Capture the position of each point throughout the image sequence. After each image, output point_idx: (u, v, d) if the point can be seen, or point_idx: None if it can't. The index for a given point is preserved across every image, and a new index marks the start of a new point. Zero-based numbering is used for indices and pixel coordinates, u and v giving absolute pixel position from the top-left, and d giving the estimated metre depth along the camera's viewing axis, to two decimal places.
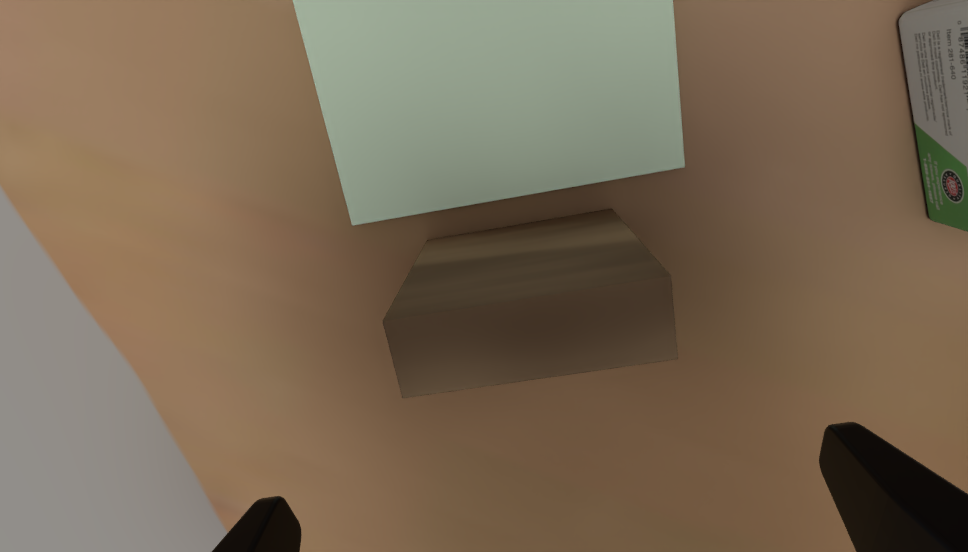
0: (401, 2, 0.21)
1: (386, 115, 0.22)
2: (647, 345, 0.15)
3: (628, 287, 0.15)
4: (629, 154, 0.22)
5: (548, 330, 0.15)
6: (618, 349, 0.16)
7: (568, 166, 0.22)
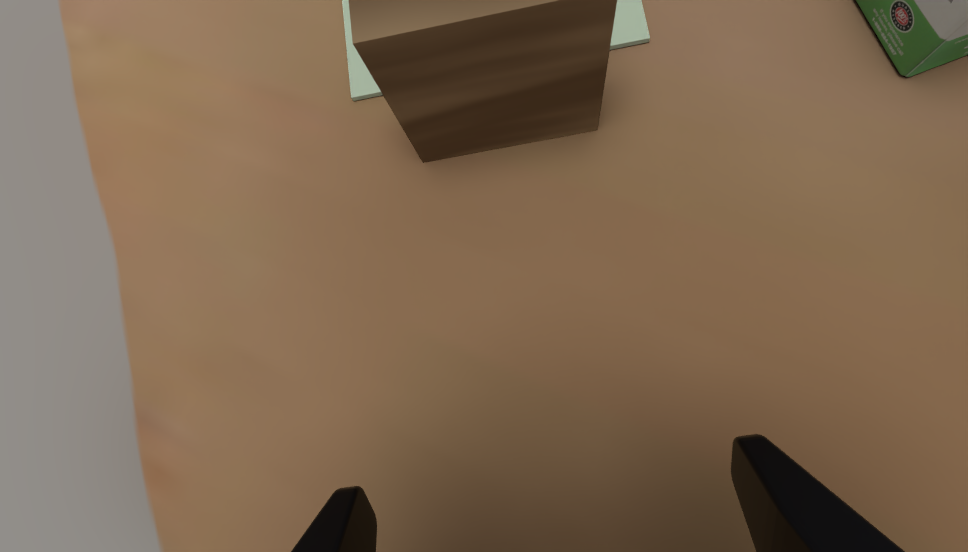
0: None
1: None
2: None
3: None
4: None
5: None
6: None
7: None
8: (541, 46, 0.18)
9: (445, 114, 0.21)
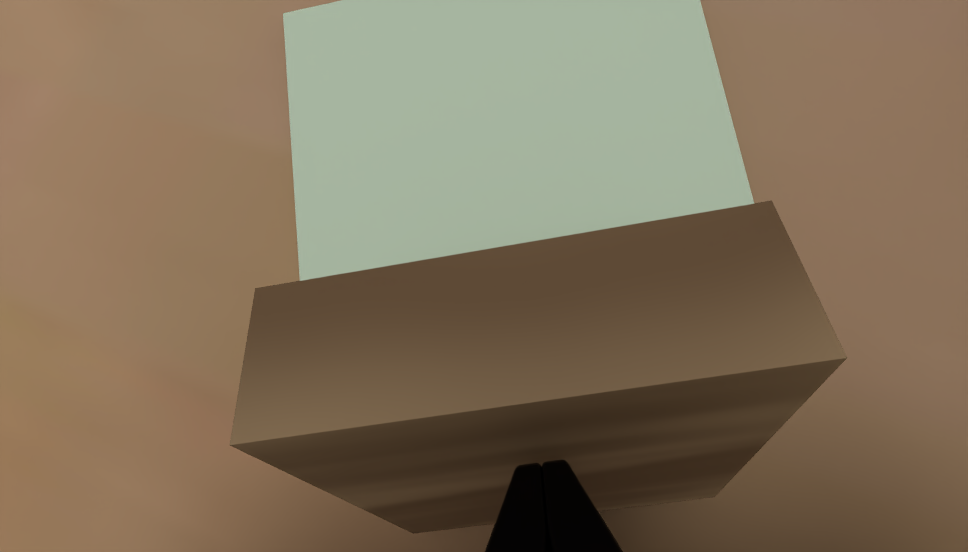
0: (410, 143, 0.18)
1: (376, 265, 0.17)
2: (762, 326, 0.07)
3: (694, 222, 0.08)
4: None
5: (546, 299, 0.08)
6: (698, 336, 0.07)
7: None
8: (643, 431, 0.09)
9: (447, 498, 0.12)
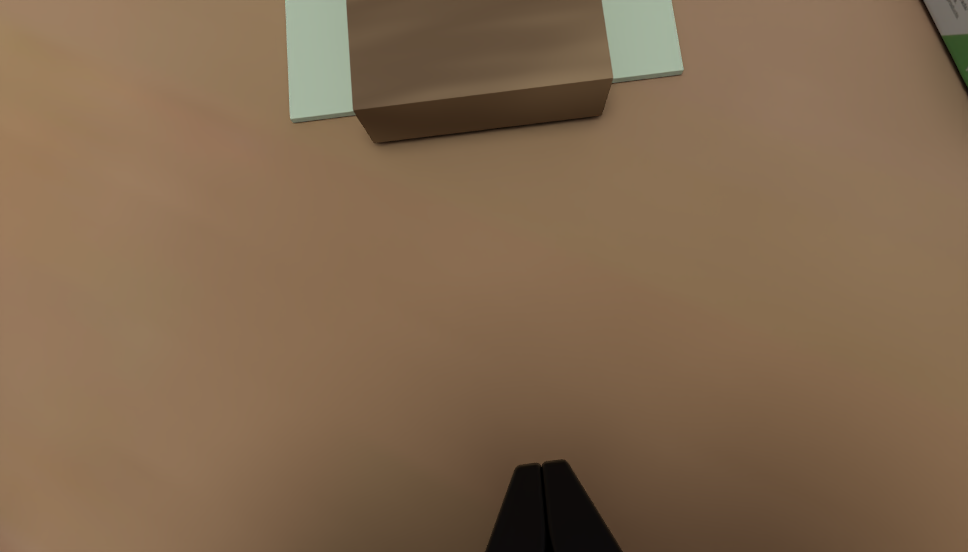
0: None
1: None
2: None
3: None
4: (618, 54, 0.19)
5: None
6: None
7: None
8: None
9: None
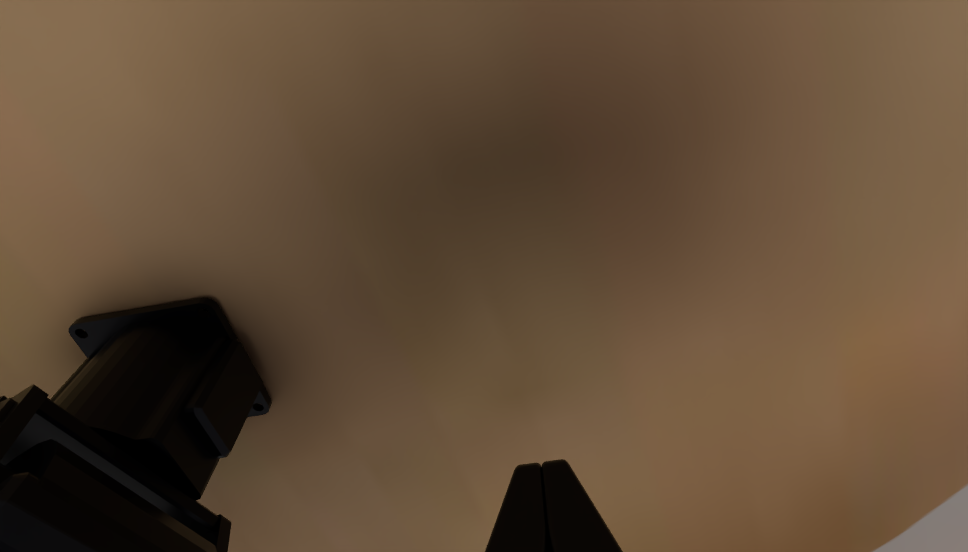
0: None
1: None
2: None
3: None
4: None
5: None
6: None
7: None
8: None
9: None
